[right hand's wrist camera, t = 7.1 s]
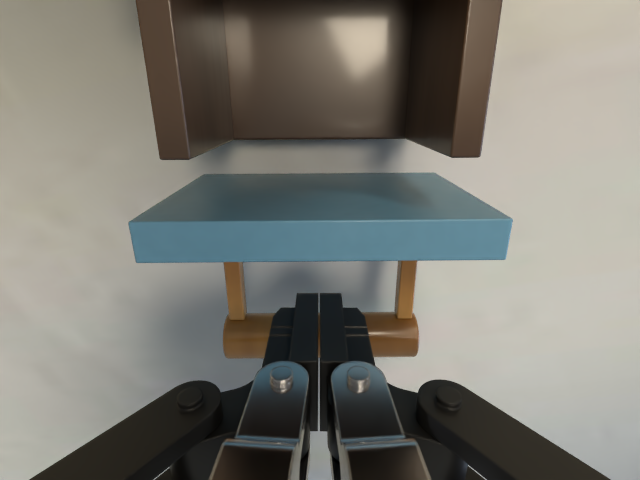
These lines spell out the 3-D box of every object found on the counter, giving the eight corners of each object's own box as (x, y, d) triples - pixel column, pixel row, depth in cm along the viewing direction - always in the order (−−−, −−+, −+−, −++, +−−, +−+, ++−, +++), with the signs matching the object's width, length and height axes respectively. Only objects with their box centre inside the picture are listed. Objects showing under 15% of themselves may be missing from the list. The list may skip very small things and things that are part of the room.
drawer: (421, 309, 19) (477, 419, 12) (218, 311, 19) (166, 423, 12) (480, -279, 12) (692, -770, 5) (151, -278, 12) (-66, -774, 5)
